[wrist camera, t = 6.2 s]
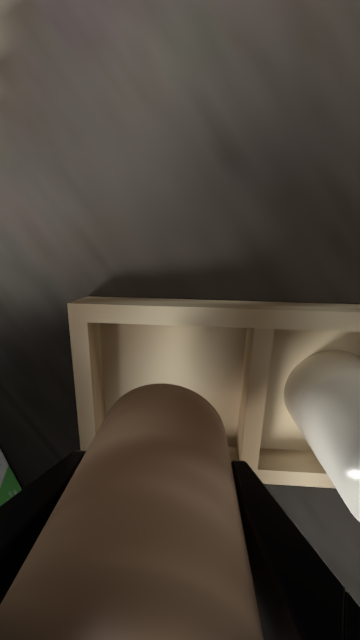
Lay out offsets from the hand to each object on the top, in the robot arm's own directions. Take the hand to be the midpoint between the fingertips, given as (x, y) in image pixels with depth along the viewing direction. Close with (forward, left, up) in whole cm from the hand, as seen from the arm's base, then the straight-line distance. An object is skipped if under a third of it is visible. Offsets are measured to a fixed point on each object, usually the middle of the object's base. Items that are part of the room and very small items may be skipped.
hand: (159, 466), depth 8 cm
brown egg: (0, 0, -1) cm, 1 cm away
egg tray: (-4, 0, -6) cm, 7 cm away
